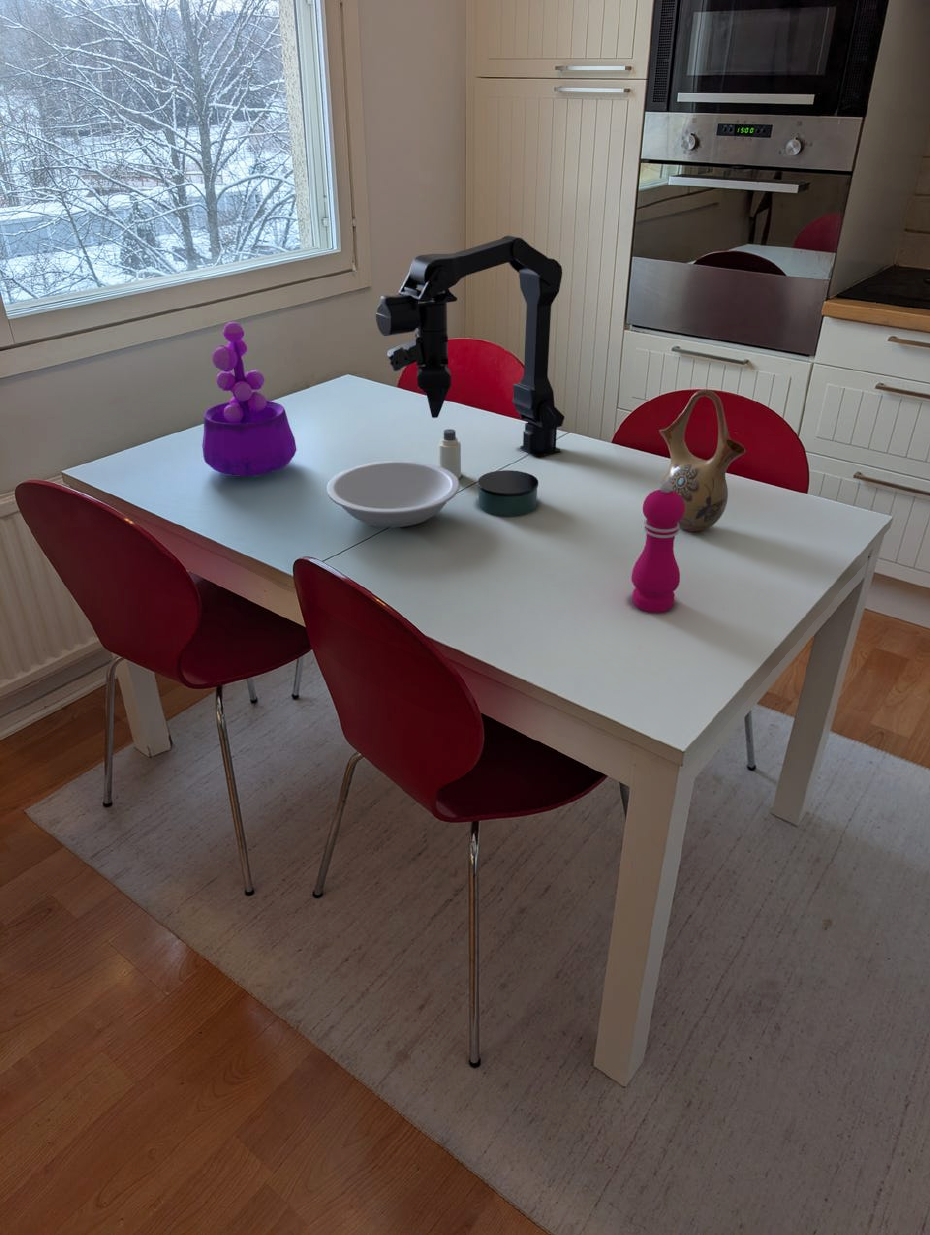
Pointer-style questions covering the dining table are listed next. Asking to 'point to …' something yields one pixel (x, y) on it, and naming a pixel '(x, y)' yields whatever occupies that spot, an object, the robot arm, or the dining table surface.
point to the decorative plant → (244, 418)
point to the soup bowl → (393, 492)
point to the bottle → (450, 453)
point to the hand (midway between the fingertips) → (434, 409)
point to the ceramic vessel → (700, 469)
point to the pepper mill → (658, 551)
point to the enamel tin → (507, 493)
